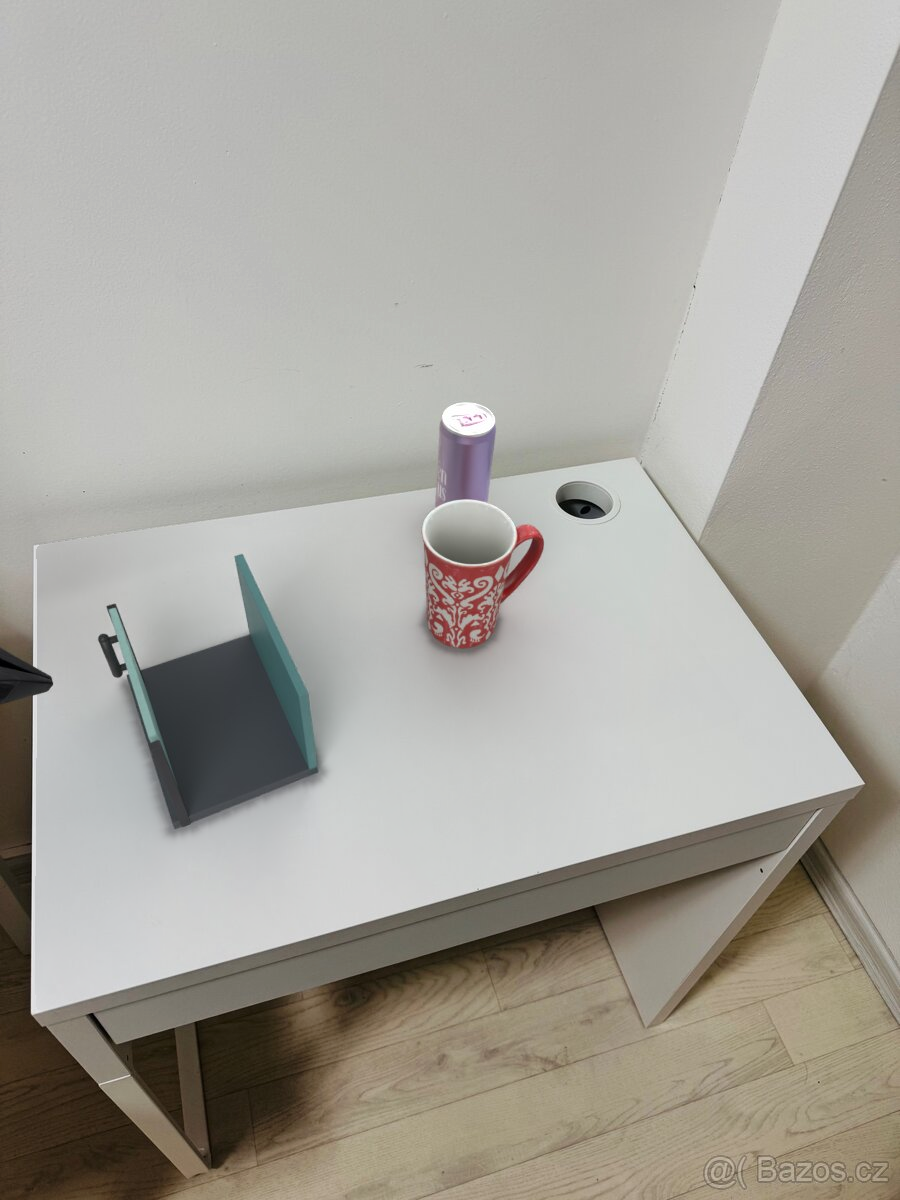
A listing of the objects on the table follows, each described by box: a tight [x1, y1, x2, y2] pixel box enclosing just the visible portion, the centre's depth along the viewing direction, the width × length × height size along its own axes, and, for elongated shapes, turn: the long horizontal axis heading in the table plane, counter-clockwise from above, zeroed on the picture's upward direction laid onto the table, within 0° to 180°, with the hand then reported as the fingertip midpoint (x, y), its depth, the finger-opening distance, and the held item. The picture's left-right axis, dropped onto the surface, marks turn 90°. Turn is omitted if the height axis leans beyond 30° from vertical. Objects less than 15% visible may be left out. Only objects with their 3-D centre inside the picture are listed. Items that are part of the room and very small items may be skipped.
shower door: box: [97, 603, 178, 787], centre depth 71 cm, size 2×14×11 cm, turn 27°
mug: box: [421, 500, 545, 649], centre depth 84 cm, size 13×9×14 cm
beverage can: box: [434, 402, 497, 509], centre depth 93 cm, size 6×6×15 cm
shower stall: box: [126, 553, 319, 830], centre depth 74 cm, size 13×17×12 cm
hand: (50, 684), depth 69 cm, fingers closed
